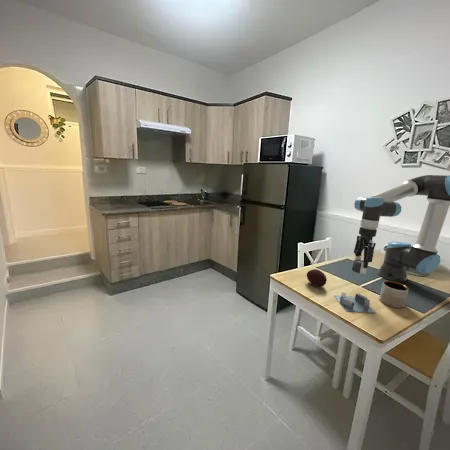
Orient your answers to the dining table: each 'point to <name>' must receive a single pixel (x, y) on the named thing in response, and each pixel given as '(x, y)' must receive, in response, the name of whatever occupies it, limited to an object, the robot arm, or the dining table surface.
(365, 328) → the dining table surface
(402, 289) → the planter
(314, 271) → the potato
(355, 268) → the cap
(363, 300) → the blue square tray
